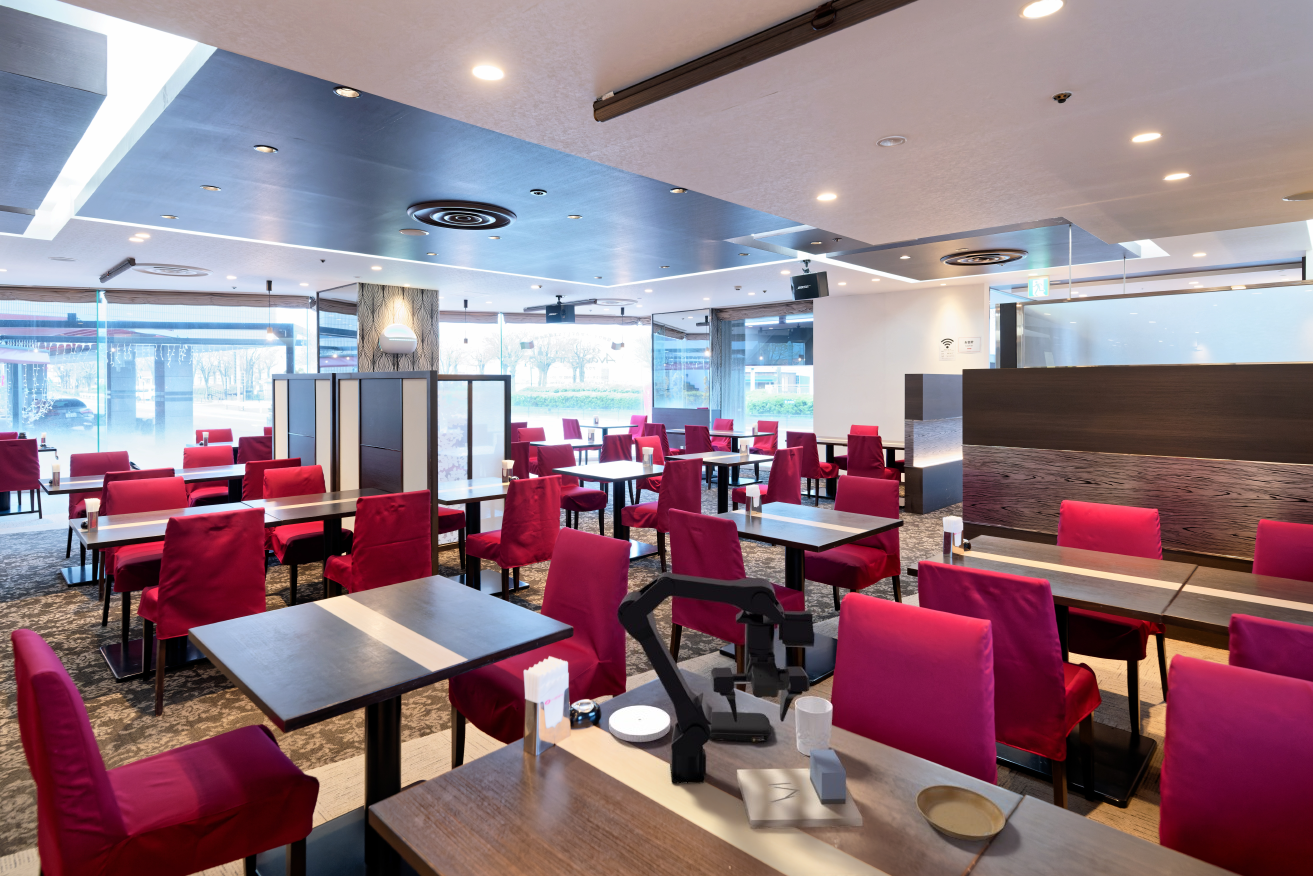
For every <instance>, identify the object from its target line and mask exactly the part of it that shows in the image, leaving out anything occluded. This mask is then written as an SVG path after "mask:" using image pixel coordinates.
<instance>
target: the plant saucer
mask: <svg viewBox="0 0 1313 876" xmlns="http://www.w3.org/2000/svg"><path fill="white" fill-rule="evenodd" d="M915 804H916V807H917V809H918V811H919V812H920V814H921V815H922V816H923V818H924V819H925V820H926V821H927V822H928V823H929V824H930V825H931V826H932V827H934V828H935V829H936V830H937V831H939V832H941V834H944V835H946V836H948V837H951V838H954V839H956V838H957V839H956V840H960V839H961V841H966V840H967V842H978V840H980V841H984V840H987V839H988V838H991V837H993V836H995V835H996V834H998V833H999V832H1000V831H1002V829H1003V828H1004V827H1005V826H1006V825H1005V824H1006V817H1005V813H1004V812H1003V810H1002V809H1001V808H1000V807H999V805H998V804H996V803H995V802H994V801H993V800H992V799H990V798H989V797H987V796H985V795H983V794H982V793H979V792H977V791H974V790H972V789H968V788H965V787H962V786H957V785H952V784H951V785H950V784H936V785H929V786H927V787H924V788H922V789H921V790H920V791H919V792H918V793H917V794H916V797H915ZM986 832H987V833H988V832H990V834H989V833H988V834H987V835H984V834H985V833H986ZM972 834H973V835H972ZM975 834H976V835H975ZM978 834H979V835H978Z"/></svg>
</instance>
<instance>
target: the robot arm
mask: <svg viewBox="0 0 1313 876" xmlns="http://www.w3.org/2000/svg"><path fill="white" fill-rule="evenodd" d="M669 597H673V598H674V597H676V598H682V599H691V600H692V599H693V600H697V601H699V600H700V601H706V602H714V603H719V604H720V603H721V604H727V605H730V606H733V607H736V608H737V609H739V610H741V611H739V612H738V613H736V615H735V623H736V624H744V625H745V627H744V628H745V629H744V630H745V631H744V638H745V640H744V673H733V672H732V669H731V667H713V668H712V669H711V671H710V683H711V686H712V687H711V688H712V691H713V692H714V693H717V694H718V693H719V695H720V697H725V698H726V700H727V702H728V704H729V707H730V710H731V711H730V712H732V714H733V718H734V721H735V722H737V712H738V711H737V702H736V692H735V685H750V686H751V690H752V695H753V696H754V697H755V698H757V699H759V698H769V697H770V698H772V699H773V698H777V697H778V696H780V700H779V701H780V704H779V719H780V723H781V722H783V723H784V721H785V719H786V716H787V713H788V711H789V709H790V706H791V704H792V702H793V700H794V699H795V698H796V697H797V696H801V695H802V694H803V692H809V691H810V684H811V683H810V677H809V676H808V674H807V672H806V671H805V670H804V669H803V667H802V666H784V667H783V668H780V667H778V666H777V664H776V654H775V639H776V638H775V636H776V635H775V634H776V633H775V632H776V631H775V628H776V627H775V626H777V640H778V641H781V644H782V645H783V646H784V647H795V648H796V647H797V648H814V647H815V631H814V622H813V612H812V611H811V610H801V611H793V610H784V607H783V605H782V603H781V602H780V601H779V600H778V599H777V596H776V592H775V588H774V586H773V584H772V583H771V582H770V581H769V580H768V579H766V578H764V577H747V578H745V577H744V578H740V579H735V580H726V579H718V578H717V579H716V578H709V577H701V576H694V575H688V574H687V575H686V574H680V573H679V574H678V573H673V572H670V571H664V572H661V573H660V575H658V577H656V578H655V579H653V580H652V581H651V582H648V583H647V584H646V585H644V586H643V587H642V588H640V589H639V590H635V591H634V590H633V591H630V592H628V593H627V594H625V596H624V598H622V600H621V602H620V604H619V607H618V609H617V614H616V616H617V620H618V622H619V623H620V625H621V626H622V627H623V629H624V630H625V631H626V633H627V634H628V635H629V636H630V637H631V638H633V639H634V640H635V641H636V642H637V643H639V644H640V646H641V648H642V650H643V652H644V654H645V655H646V657H647V659H648V661H649V663H650V665H651V666H652V668H653V670H654V672H655V673H656V675H657V678H658V679H659V681H660V683H661V685H662V686H663V688H664V690H665V692H666V693H667V695H668V697H669V699H670V701H671V703H672V705H673V707H674V712H675V715H676V720H677V722H675V723H674V726H673V732H672V738H671V742H670V764H669V769H670V780H671V783H672V784H703V783H705V775H707V754H706V749H705V748H704V745H705V744H707V743H708V742H709V740H711V738H710V736H711V725H712V712H713V707H712V706H711V705H710V704H709V703H708V702H707V699H706V696H705V693H704V692H701V693H700V694H698V695H697V694H696V693H694V691H692V690H691V689H690V687H689V685H688V683H687V681H686V679H685V677H684V675H683V673H682V672H681V670H680V669H679V666H678V665H677V662H676V661H675V660H674V657H673V656H672V654H671V652H670V651H669V648H668V647H667V644H666V643H665V641H664V640H663V637H662V635H661V634H660V632H659V630H658V627H657V626H658V625H657V623H656V621H657V620H656V618H655V613H654V610H655V609H657V607H658V606H660V605H661V604H662V603H663V602H664V601H665V600H666V599H667V598H669ZM779 693H780V695H779Z"/></svg>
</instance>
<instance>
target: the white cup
mask: <svg viewBox="0 0 1313 876" xmlns="http://www.w3.org/2000/svg"><path fill="white" fill-rule="evenodd" d="M794 707H795V708H794V709H795V710H794V713H795V715H794V716H795V717H794V718H795V735H796V749H797V750H798V751H799V752H800V753H801V754H803V756H804V755H805V756H807V757H810V750H830V741H831V733H832V725H833V724H832V722H833V721H832V720H833V708H834V707H833V704H832V703H831V702H830V701H829V700H827V699H825V698H822V697H818V696H814V695H813V696H811V695H810V696H809V695H807V696H802V697H799V698H797V699H796V700H795V702H794Z"/></svg>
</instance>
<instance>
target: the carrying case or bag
mask: <svg viewBox="0 0 1313 876" xmlns="http://www.w3.org/2000/svg"><path fill="white" fill-rule="evenodd" d="M772 736H773V731H772V727H771V722H770V718H769V717H768V716H767V715H766V714H765V713H761V712H742V711H741V712H740V711H737V722H735V721H734V718H733V714H732V711H712V725H711V736H710V740H715V739H723V740H722V741H738V740H750V742H752V743H755V742H767V741H768V740H770V738H771V737H772ZM766 740H767V741H766Z"/></svg>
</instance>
